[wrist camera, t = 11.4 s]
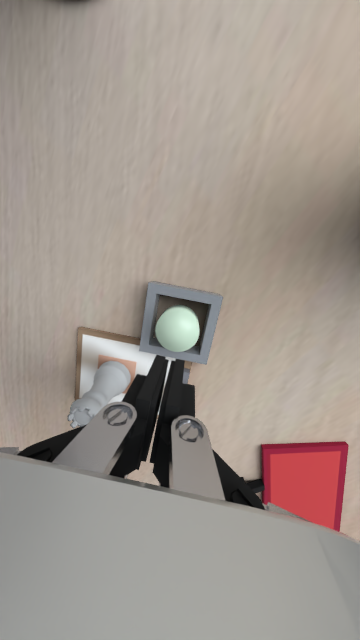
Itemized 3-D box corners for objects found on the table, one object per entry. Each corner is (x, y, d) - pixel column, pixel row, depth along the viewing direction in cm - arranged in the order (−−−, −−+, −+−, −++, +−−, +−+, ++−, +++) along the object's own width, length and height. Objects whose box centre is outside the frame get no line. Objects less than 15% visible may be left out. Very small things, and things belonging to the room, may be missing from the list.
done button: (163, 301, 21) (158, 305, 18) (202, 308, 21) (203, 314, 18) (157, 337, 22) (152, 347, 20) (194, 344, 22) (194, 355, 19)
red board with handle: (242, 574, 35) (327, 574, 34) (247, 600, 32) (339, 601, 31) (234, 442, 28) (340, 436, 27) (238, 460, 26) (357, 454, 24)
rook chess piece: (110, 393, 26) (75, 446, 18) (92, 367, 25) (47, 409, 17) (138, 381, 25) (113, 430, 17) (120, 353, 24) (87, 392, 17)
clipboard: (80, 326, 25) (73, 330, 23) (194, 349, 24) (194, 354, 23) (77, 398, 27) (70, 405, 26) (178, 419, 27) (178, 428, 26)
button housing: (153, 281, 22) (148, 282, 20) (219, 294, 22) (223, 296, 20) (144, 343, 25) (138, 351, 22) (205, 355, 24) (206, 364, 22)
